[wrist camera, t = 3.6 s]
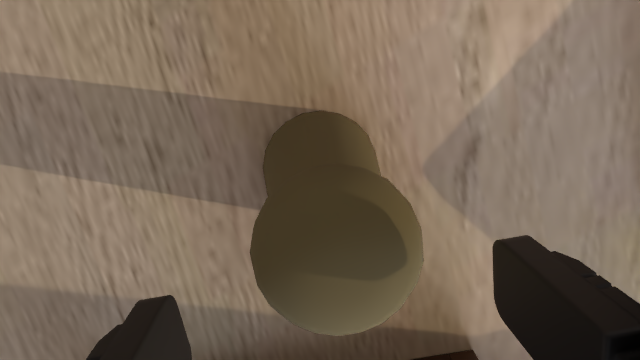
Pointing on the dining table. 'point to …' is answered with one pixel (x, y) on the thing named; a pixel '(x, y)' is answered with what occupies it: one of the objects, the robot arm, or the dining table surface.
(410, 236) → the cork
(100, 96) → the dining table surface
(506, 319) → the robot arm
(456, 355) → the shelf
